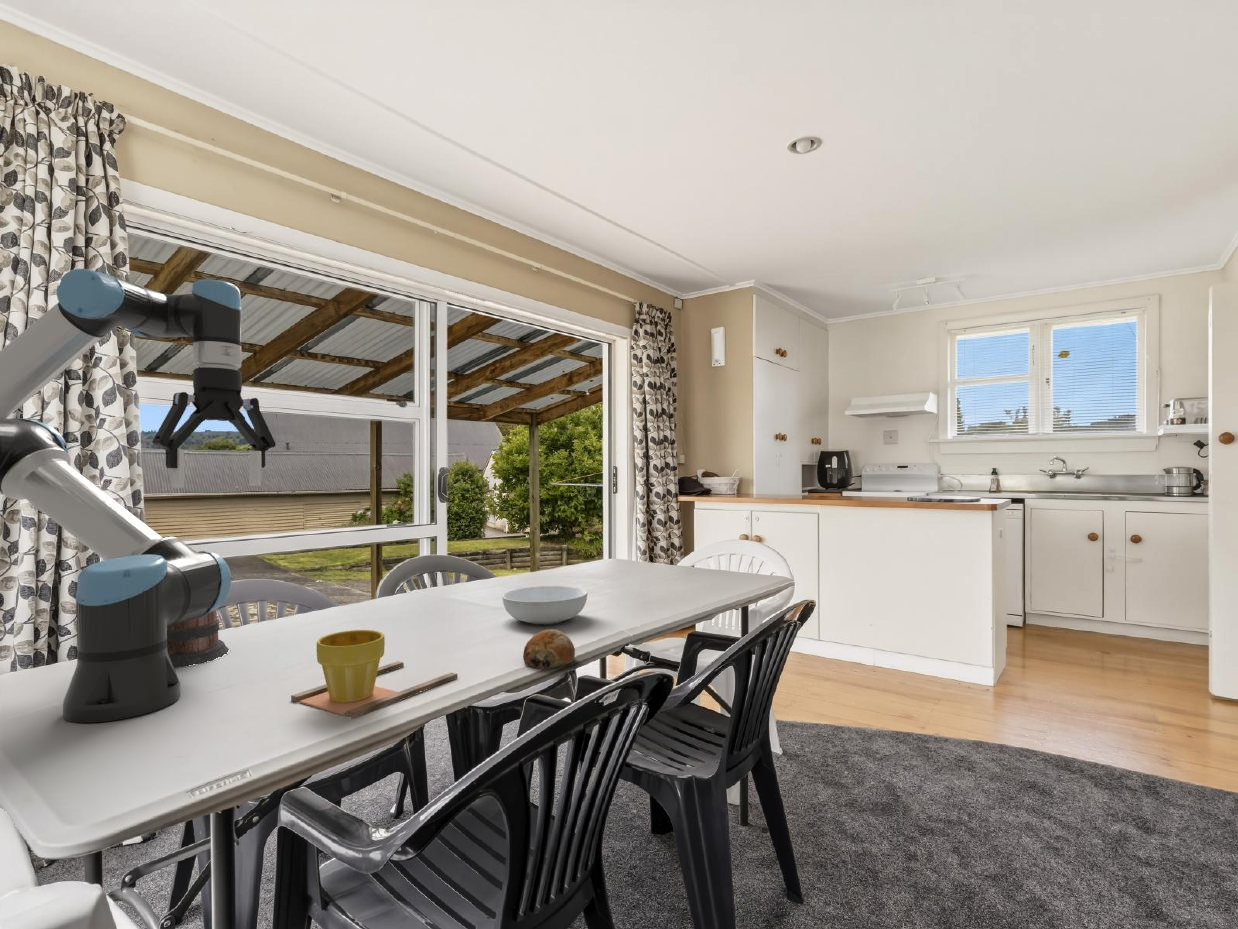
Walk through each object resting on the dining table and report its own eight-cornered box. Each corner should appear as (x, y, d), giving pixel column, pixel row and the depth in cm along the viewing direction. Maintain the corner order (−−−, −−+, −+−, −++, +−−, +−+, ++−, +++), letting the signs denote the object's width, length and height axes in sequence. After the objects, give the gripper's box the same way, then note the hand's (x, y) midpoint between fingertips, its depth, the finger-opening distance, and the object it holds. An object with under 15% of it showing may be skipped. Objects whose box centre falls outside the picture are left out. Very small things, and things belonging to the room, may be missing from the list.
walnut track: (353, 718, 102) (352, 713, 102) (291, 700, 110) (291, 695, 110) (457, 678, 121) (457, 673, 121) (398, 665, 129) (398, 661, 129)
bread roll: (578, 681, 130) (591, 641, 132) (542, 670, 123) (555, 627, 125) (545, 671, 136) (557, 632, 139) (508, 659, 130) (522, 619, 132)
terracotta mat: (343, 715, 103) (343, 713, 103) (299, 702, 108) (299, 701, 108) (400, 694, 112) (400, 692, 112) (357, 683, 118) (357, 681, 118)
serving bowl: (542, 608, 180) (542, 582, 180) (604, 618, 168) (604, 590, 168) (484, 623, 163) (484, 594, 163) (548, 635, 151) (548, 605, 151)
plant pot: (351, 711, 104) (351, 648, 104) (302, 702, 108) (302, 641, 108) (398, 690, 113) (397, 632, 113) (351, 683, 117) (351, 627, 117)
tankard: (242, 655, 136) (242, 557, 136) (143, 675, 124) (142, 567, 124) (205, 636, 152) (205, 548, 152) (114, 652, 139) (113, 555, 139)
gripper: (150, 357, 108) (151, 489, 108) (294, 374, 129) (295, 484, 129) (128, 361, 112) (129, 488, 112) (271, 377, 133) (272, 484, 133)
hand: (218, 486), depth 121 cm, fingers open, 13 cm apart
